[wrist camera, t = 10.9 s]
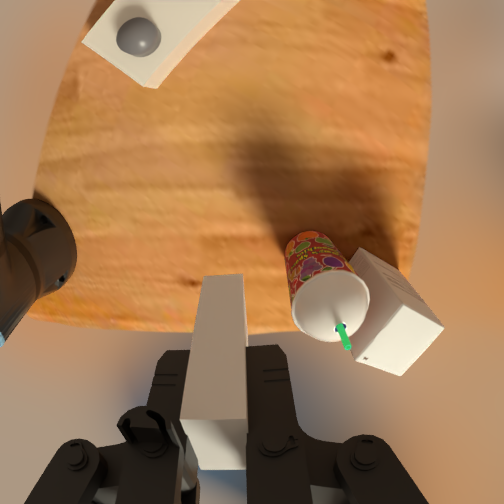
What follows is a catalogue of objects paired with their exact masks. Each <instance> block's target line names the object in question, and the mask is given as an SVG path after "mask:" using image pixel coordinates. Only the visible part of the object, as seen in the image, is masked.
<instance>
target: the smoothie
mask: <svg viewBox="0 0 504 504" xmlns="http://www.w3.org/2000/svg"><path fill="white" fill-rule="evenodd" d="M285 265H286V272H287V279H288V287H289V295H290V302H291V309H292V310H291V314H292V318H293V321H294V323H295V325H296V326H297V327H298V328H299V329H300V330H301V331H302V332H304V333H306V334H308V335H309V336H311V337H313V338H315V339H317V340H320V341H325V342H336V341H340V340H342V343H343V346H344V348H345V350H350V349H351V347H352V346H351V343H350V341H349V338H348V337H350V336H351V335H353V334H354V333H355V332H356V331H357V330H358V329H359V328H360V326H361V325H362V323H363V321H364V319H365V317H366V313H367V310H368V306H369V302H370V295H369V289H368V287H367V285H366V284H365V282H364V280H363V279H361V278H360V277H359V275H358V274H357V273H356V271H355V270H354V269H353V268H352V266H351V265H350V264H349V263H348V261H347V260H346V259H345V258H344V256H343V255H342V254H341V253H340V251H339V250H338V249H337V248H336V246H335V245H334V244H333V243H332V241H331V240H330V239H329V238H328V237H327V236H326V235H324V234H323V233H321V232H317V231H305V232H302V233H299V234H298V235H296V236H295V237H293V238H292V239H291V241H290V242H289V243H288V244H287V247H286V250H285Z"/></svg>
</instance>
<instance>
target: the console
mask: <svg viewBox="0 0 504 504" xmlns="http://www.w3.org/2000/svg"><path fill="white" fill-rule="evenodd" d="M239 1H240V0H115V1H114V2H113V3H112V4H111V5H110V7H109V8H108V9H107V10H106V11H105V12H104V14H103V15H102V16H101V17H100V19H99V20H98V21H97V22H96V23H95V25H94V26H93V27H92V29H91V30H90V31H89V32H88V34H87V35H86V36H85V38H84V39H83V40H82V43H83V44H85V45H86V46H87V47H89V48H90V49H92V50H93V51H95V52H96V53H97V54H99V55H100V56H102V57H103V58H105V59H106V60H107V61H109V62H110V63H112V64H113V65H114V66H116V67H117V68H118V69H120V70H121V71H123V72H124V73H125V74H127V75H128V76H129V77H131V78H132V79H133V80H135V81H136V82H138V83H139V84H140V85H142V86H143V87H149V88H154V89H157V88H158V87H159V85H160V84H161V83H162V82H163V81H164V79H165V78H166V77H167V76H168V75H169V73H170V72H171V71H172V70H173V69H174V68H175V67H176V65H177V64H178V63H179V62H180V61H181V60H182V59H183V57H184V56H185V55H186V54H187V53H188V52H189V51H190V50H191V49H192V48H193V47H194V45H195V44H196V43H197V42H198V41H199V40H200V39H201V38H202V37H203V36H204V35H205V34H206V33H207V32H208V31H209V30H210V29H211V28H212V27H213V26H214V25H215V24H216V23H217V22H218V21H219V20H220V19H221V18H222V17H223V16H224V15H225V14H226V13H227V12H228V11H229V10H230V9H231V8H233V7H234V6H235V5H236V4H237V3H238V2H239ZM136 17H142V18H146V19H148V20H149V21H151V22H152V23H153V24H154V25H155V26H156V27H157V28H158V29H159V30H160V32H161V42H160V45H159V47H158V48H157V49H156V50H155V51H154V52H153V53H152V54H150V55H148V56H145V57H135V56H133V55H130V54H128V53H125V52H123V51H122V50H121V49H120V48H119V47H118V45H117V42H116V36H117V32H118V30H119V29H120V27H121V26H122V25H123V24H124V23H125V22H126V21H128V20H130V19H132V18H136Z"/></svg>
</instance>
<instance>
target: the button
mask: <svg viewBox="0 0 504 504" xmlns="http://www.w3.org/2000/svg"><path fill="white" fill-rule="evenodd" d="M116 42H117V45H118V47H119V48H120V49H121V50H122V51H123V52H125V53H128V54H130V55H133V56H135V57H145V56H148V55H150V54H152V53H153V52H154V51H155V50H156V49H157V48H158V47H159V45H160V42H161V32H160V30H159V29H158V28H157V27H156V26H155V25H154V24H153V23H152V22H151V21H149V20H148V19H146V18H142V17H136V18H132V19H130V20H128V21H126V22H125V23H124V24H123V25H122V26H121V27H120V29H119V30H118V32H117V36H116Z"/></svg>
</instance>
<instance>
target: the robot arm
mask: <svg viewBox="0 0 504 504" xmlns="http://www.w3.org/2000/svg"><path fill="white" fill-rule="evenodd" d="M76 261H77V250H76V244H75V240H74V237H73V234H72V232H71V230H70V227H69V226H68V224H67V222H66V221H65V219H64V218H63V217H62V216H61V214H60V213H59V212H58V211H57V210H56V209H54V208H53V207H52V206H50V205H49V204H47V203H45V202H43V201H40V200H37V199H25V200H22V201H20V202H18V203H16V204H14V205H13V206H11V207H10V208H8V209H7V210H6V211H5V212H4V214H3V215H2V212H1V204H0V347H2V346H3V345H4V342H5V341H6V340H7V338H8V337H9V335H10V334H11V333H12V331H13V330H14V328H15V327H16V326H17V324H18V323H19V322H20V320H21V319H22V318H23V316H24V315H25V314H26V312H27V311H28V310H29V309H30V307H31V306H32V305H33V303H34V302H35V301H36V300H37V299H39V298H41V297H44V296H46V295H48V294H50V293H52V292H55V291H57V290H58V289H60V288H61V287H62V286H63V285H64V284H65V283H66V282H67V281H68V279H69V278H70V277H71V275H72V274H73V272H74V269H75V266H76ZM117 427H118V428H119V430H120V432H121V433H122V435H123V436H124V438H125V439H126V442H124V443H120V444H117V445H111V446H105V447H99V448H96V447H95V445H93V444H92V443H91V442H89V441H88V440H84V439H74V440H70V441H68V442H66V443H64V444H63V445H62V446H61V447H60V448H59V449H58V450H57V452H56V454H55V455H54V457H53V458H52V460H51V461H50V463H49V464H48V466H47V467H46V469H45V471H44V473H43V474H42V475H41V477H40V479H39V480H38V482H37V483H36V485H35V487H34V488H33V490H32V491H31V493H30V495H29V496H28V498H27V500H26V501H25V503H24V504H199V499H200V484H199V480H198V478H197V470H198V465H199V467H200V468H201V470H235V469H236V470H238V469H246V477H247V504H429V503H428V502H427V500H426V499H425V497H424V496H423V494H422V493H421V492H420V490H419V489H418V487H417V486H416V484H415V483H414V481H413V480H412V478H411V477H410V475H409V474H408V472H407V471H406V470H405V468H404V467H403V465H402V464H401V462H400V461H399V459H398V458H397V456H396V455H395V453H394V452H393V451H392V449H391V448H390V446H389V445H388V444H387V443H386V442H385V441H384V440H383V439H381V438H378V437H376V436H374V435H364V434H363V435H358V436H354V437H352V438H350V439H348V440H347V441H345V442H344V443H334V442H326V441H321V440H317V439H314V438H312V437H310V436H308V435H307V434H306V433H305V432H303V431H302V429H301V428H300V426H299V425H298V421H297V417H296V411H295V405H294V399H293V393H292V388H291V382H290V376H289V371H288V363H287V358H286V354H285V353H284V352H283V351H282V349H281V348H280V347H279V346H278V345H263V346H249V347H248V330H247V318H246V306H245V294H244V282H243V274H231V275H215V276H204V277H203V283H202V288H201V293H200V299H199V304H198V310H197V315H196V321H195V326H194V332H193V338H192V344H191V350H167V351H166V352H165V353H164V354H163V356H162V357H161V358H160V359H159V360H158V362H157V366H156V370H155V376H154V378H153V382H152V387H151V389H150V393H149V398H148V402H147V406H138V407H135V408H133V409H131V410H128V411H127V412H126V413H125V414H124V415H123V416H121V417H120V419H119V421H118V423H117Z"/></svg>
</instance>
